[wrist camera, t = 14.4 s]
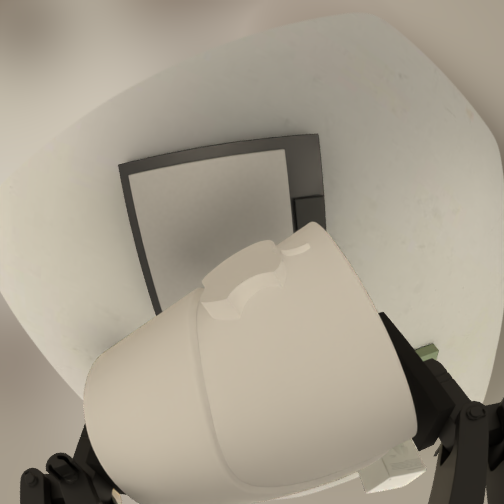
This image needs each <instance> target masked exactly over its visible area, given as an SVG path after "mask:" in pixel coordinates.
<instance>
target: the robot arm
mask: <svg viewBox="0 0 504 504" xmlns="http://www.w3.org/2000/svg"><path fill="white" fill-rule="evenodd" d="M378 314H379V316H380V318H381V320H382V322H383V324H384V326H385V328H386V330H387V333H388V335H389V337H390V339H391V341H392V344H393V346H394V348H395V351H396V353H397V356H398V358H399V361H400V363H401V366H402V369H403V371H404V374H405V377H406V380H407V383H408V386H409V389H410V392H411V396H412V399H413V403H414V408H415V412H416V418H417V433H416V435H415V436H414V437H413V438H412V440H413V441H414V443H415V445H416V447H417V449H418V451H421V450H423V449H425V448H427V447H430V446H432V445H434V443H435V442H436V440H437V438H438V437H439V439H440V440H441V442H442V443H441V444H440V446H439V447H438V449H437V450H436V452H435V454H434V456H437V454H438V453H439V454H438V460H437V466H436V471H435V476H434V481H433V486H432V490H431V494H430V498H429V502H428V504H483V503H484V496H485V488H486V490H487V500H488V504H504V398H503V400H502V401H501V402H500V403H496V404H492V405H487V406H485V405H483V404H482V403H480V402H476V401H471V400H470V399H469V398H468V397H467V396H466V394H465V393H464V392H463V390H462V389H461V388H460V387H459V385H458V384H457V383H456V381H455V380H454V379H452V376H451V375H450V374H449V373H447V370H446V369H445V368H444V367H443V365H442V364H441V363H439V362H438V361H436V360H434V359H433V358H431V359H428V360H425V361H423V360H422V359H421V358H420V356H419V355H418V354H417V353H416V351H415V350H414V349H413V348H412V346H411V345H410V344H409V343H408V341H407V340H406V339H405V338H404V336H403V335H402V334H401V333H400V331H399V330H398V329H397V328H396V326H395V325H394V324H393V323H392V322H391V320H390V319H389V318H388V317H387V316H386V314H385V313H384V312H381V313H378ZM46 471H47V472H48V473H49V474H43V473H42V472H41V471H39V470H38V469H36V468H30V469H27V470H26V471H24V473H23V474H22V476H21V482H20V504H118V503H117V501H116V499H115V498H114V496H113V495H112V491H113V489H114V490H116V491H117V492H118V493H119V494H125V493H124V492H123V491H122V490H121V489H120V488H119V487H118V486H117V485H116V484H115V483H114V482H113V481H112V479H111V478H110V477H109V475H108V474H107V473H106V471H105V470H104V468H103V467H102V465H101V463H100V462H99V460H98V458H97V456H96V454H95V452H94V450H93V447H92V445H91V442H90V439H89V436H88V432H87V428H86V424H85V425H84V430H83V431H82V434H81V437H80V439H79V442H78V445H77V448H76V451H75V454H74V457H73V459H72V458H71V457H70V456H69V455H67V454H66V453H56V454H54V455H52V456H51V457H50V458H49V460H48V461H47V464H46ZM125 495H126V494H125Z"/></svg>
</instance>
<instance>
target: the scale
mask: <svg viewBox="0 0 504 504" xmlns="http://www.w3.org/2000/svg"><path fill="white" fill-rule="evenodd" d="M118 167H119V172H120V178H121V183H122V188H123V193H124V198H125V203H126V207H127V212H128V216H129V221H130V225H131V229H132V233H133V237H134V241H135V245H136V249H137V253H138V257H139V260H140V264H141V268H142V271H143V275H144V278H145V282H146V285H147V288H148V292H149V295H150V298H151V301H152V305H153V308H154V311H155V314H156V316H157V315H159V314H160V313H162V312H163V311H165V310H166V309H167V308H169V307H170V306H172V305H173V304H175V303H176V302H178V301H179V300H180V299H182V298H183V297H185V296H186V295H188V294H189V293H191V292H192V291H193V290H195V289H197V288H204V289H205V286H204V285H203V284H202V280H203V279H204V277H205V276H206V275H207V274H208V273H210V272H211V271H212V270H213V269H214V268H216V267H217V266H218V265H219V264H221V263H222V262H223V261H225V260H226V259H227V258H229V257H231V256H232V255H234V254H235V253H237V252H239V251H240V250H242V249H244V248H246V247H248V246H250V245H252V244H255V243H257V242H260V241H265V240H271V241H273V242H274V244H275V246H276V245H278V244H279V243H281V242H282V241H284V240H285V239H287V238H288V237H289V236H291V235H292V234H294V233H295V232H297V231H298V230H300V229H301V228H302V227H304V226H305V225H307V224H308V223H310V222H316V223H318V224H319V225H320V226H321V227H322V228H323V229H324V230H325V231H326V219H325V203H324V189H323V176H322V165H321V154H320V145H319V135H318V134H305V135H293V136H282V137H272V138H263V139H254V140H246V141H239V142H231V143H225V144H218V145H212V146H205V147H200V148H194V149H188V150H183V151H178V152H173V153H168V154H163V155H158V156H153V157H149V158H144V159H140V160H136V161H132V162H127V163H123V164H119V165H118Z"/></svg>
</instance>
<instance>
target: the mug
mask: <svg viewBox="0 0 504 504" xmlns="http://www.w3.org/2000/svg"><path fill="white" fill-rule="evenodd" d="M202 284H203V285H204V286H205V289H204V288H197V289H195V290H193V291H192V292H191V293H189V294H188V295H186V296H185V297H183V298H182V299H180V300H179V301H178V302H176V303H175V304H173V305H172V306H170V307H169V308H167V309H166V310H165V311H163V312H162V313H160V314H159V315H157V316H156V317H154V318H153V319H151V320H150V321H149V322H147V323H146V324H144V325H143V326H141V327H140V328H138V329H137V330H136V331H134V332H133V333H131V334H130V335H128V336H127V337H125V338H124V339H122V340H121V341H120V342H118V343H117V344H115V345H114V346H112V347H111V348H109V349H108V350H107V351H105V352H104V353H102V354H101V355H100V356H99V357H98V358H97V360H96V361H95V362H94V364H93V365H92V367H91V369H90V371H89V374H88V376H87V380H86V384H85V389H84V401H83V404H84V417H85V424H86V428H87V432H88V436H89V439H90V442H91V445H92V447H93V450H94V452H95V454H96V456H97V458H98V460H99V462H100V463H101V465H102V467H103V468H104V470H105V471H106V473H107V474H108V475H109V477H110V478H111V479H112V481H113V482H114V483H115V484H116V485H117V486H118V487H119V488H120V489H121V490H122V491H123V492H124V493H125V494H126V495H128V496H129V497H130V498H132V499H133V500H135V501H136V502H138V503H139V504H253V503H258V502H263V501H268V500H272V499H276V498H280V497H284V496H288V495H292V494H296V493H299V492H303V491H306V490H310V489H313V488H316V487H319V486H322V485H325V484H328V483H331V482H334V481H336V480H339V479H342V478H344V477H346V476H349V475H351V474H353V473H355V472H358V471H360V470H362V469H364V468H365V467H367V466H369V465H371V464H372V463H374V462H376V461H377V460H379V459H380V458H381V457H383V456H384V455H385V454H386V453H387V452H388V451H389V450H390V449H391V448H393V447H395V446H397V445H399V444H401V443H403V442H405V441H407V440H409V439H411V438H413V437H414V436H415V435H416V433H417V418H416V412H415V408H414V403H413V399H412V396H411V392H410V389H409V386H408V383H407V380H406V377H405V374H404V371H403V369H402V366H401V363H400V361H399V358H398V356H397V353H396V351H395V348H394V346H393V344H392V341H391V339H390V337H389V335H388V333H387V330H386V328H385V326H384V324H383V322H382V320H381V318H380V316H379V314H378V312H377V310H376V308H375V306H374V304H373V302H372V300H371V299H370V297H369V295H368V293H367V291H366V289H365V288H364V286H363V284H362V283H361V281H360V279H359V277H358V276H357V274H356V272H355V271H354V269H353V268H352V266H351V265H350V263H349V261H348V260H347V258H346V257H345V255H344V254H343V252H342V251H341V250H340V248H339V247H338V245H337V244H336V243H335V241H334V240H333V239H332V238H331V236H330V235H329V234H328V233H327V232H326V231H325V230H324V229H323V228H322V227H321V226H320V225H319V224H318V223H316V222H310V223H308V224H307V225H305V226H304V227H302V228H301V229H300V230H298V231H297V232H295V233H294V234H292V235H291V236H289V237H288V238H287V239H285V240H284V241H282V242H281V243H279V244H278V245H276V246H275V244H274V242H273V241H271V240H265V241H260V242H257V243H255V244H252V245H250V246H248V247H246V248H244V249H242V250H240V251H239V252H237V253H235V254H234V255H232V256H231V257H229V258H227V259H226V260H225V261H223V262H222V263H221V264H219V265H218V266H217V267H216V268H214V269H213V270H212V271H211V272H210V273H208V274H207V275H206V276H205V277H204V279H203V280H202Z"/></svg>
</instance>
